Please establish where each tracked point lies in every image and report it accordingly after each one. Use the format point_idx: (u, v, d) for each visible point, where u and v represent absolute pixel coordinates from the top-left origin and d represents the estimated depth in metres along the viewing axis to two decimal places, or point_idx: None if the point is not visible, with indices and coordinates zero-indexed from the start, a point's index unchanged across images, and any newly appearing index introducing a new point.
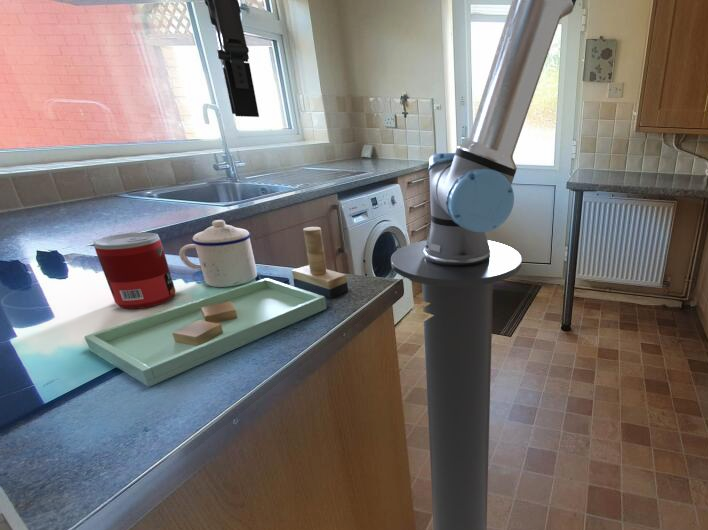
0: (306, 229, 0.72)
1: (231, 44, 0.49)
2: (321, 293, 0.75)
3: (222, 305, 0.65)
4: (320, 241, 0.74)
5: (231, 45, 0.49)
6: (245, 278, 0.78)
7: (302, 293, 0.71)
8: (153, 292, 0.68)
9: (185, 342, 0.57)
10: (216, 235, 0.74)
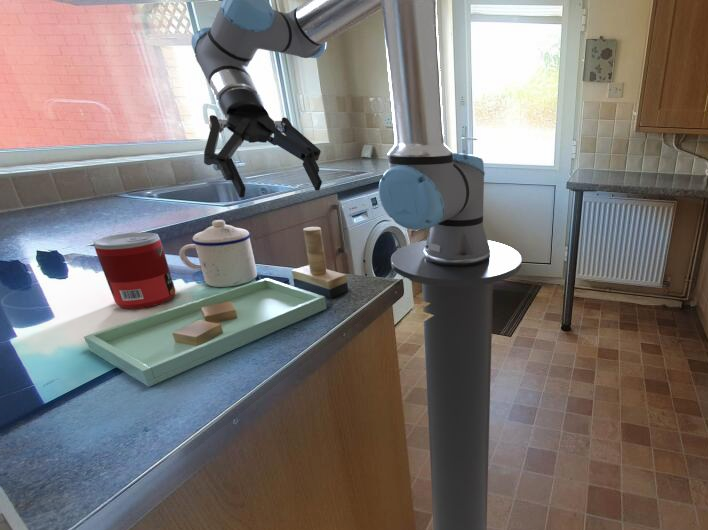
0: (306, 229, 0.72)
1: None
2: (321, 293, 0.75)
3: (222, 305, 0.65)
4: (320, 241, 0.74)
5: (204, 158, 0.72)
6: (245, 278, 0.78)
7: (302, 293, 0.71)
8: (153, 292, 0.68)
9: (185, 342, 0.57)
10: (216, 235, 0.74)
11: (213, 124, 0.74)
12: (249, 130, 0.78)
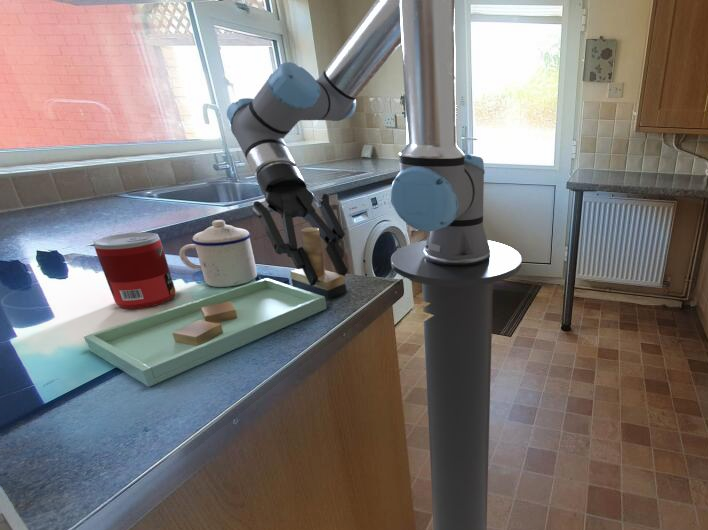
0: (304, 230, 0.72)
1: None
2: (319, 294, 0.74)
3: (222, 305, 0.65)
4: (318, 242, 0.73)
5: (276, 248, 0.72)
6: (245, 278, 0.78)
7: (302, 293, 0.71)
8: (153, 292, 0.68)
9: (185, 342, 0.57)
10: (216, 235, 0.74)
11: (262, 211, 0.72)
12: None
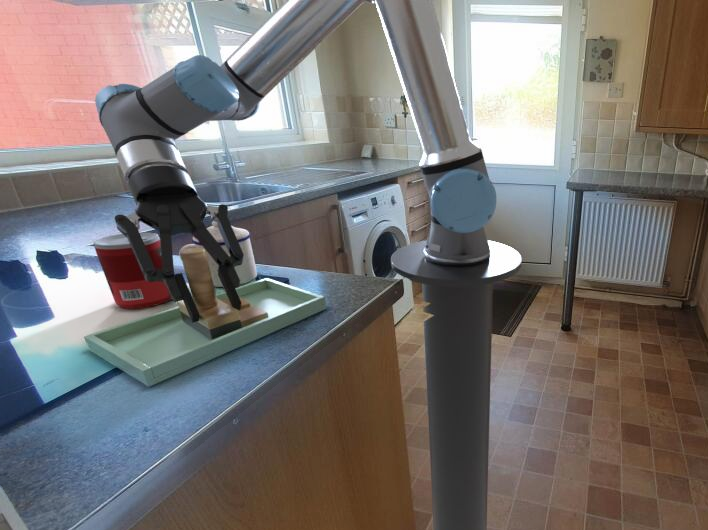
0: (183, 251, 0.56)
1: None
2: (204, 333, 0.58)
3: None
4: (203, 267, 0.57)
5: (145, 275, 0.56)
6: (245, 278, 0.78)
7: (302, 293, 0.71)
8: (153, 292, 0.68)
9: None
10: (216, 235, 0.74)
11: (127, 227, 0.56)
12: None
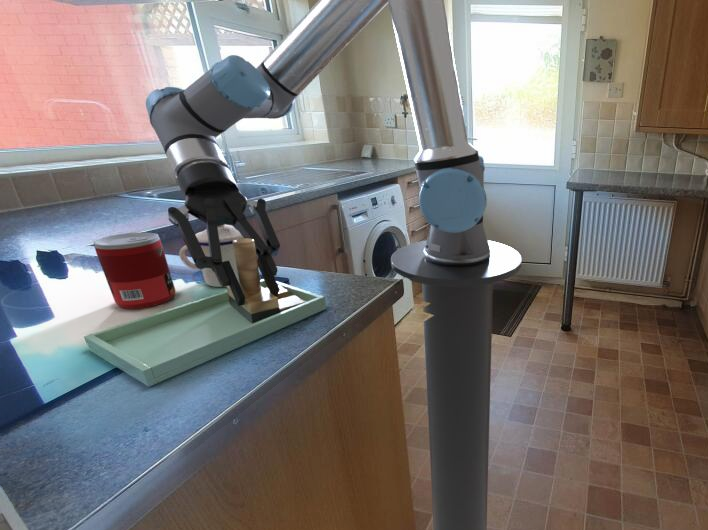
0: (235, 240, 0.62)
1: None
2: (246, 317, 0.63)
3: None
4: (251, 256, 0.62)
5: (196, 262, 0.61)
6: None
7: (302, 293, 0.71)
8: (153, 292, 0.68)
9: None
10: None
11: (179, 219, 0.61)
12: None
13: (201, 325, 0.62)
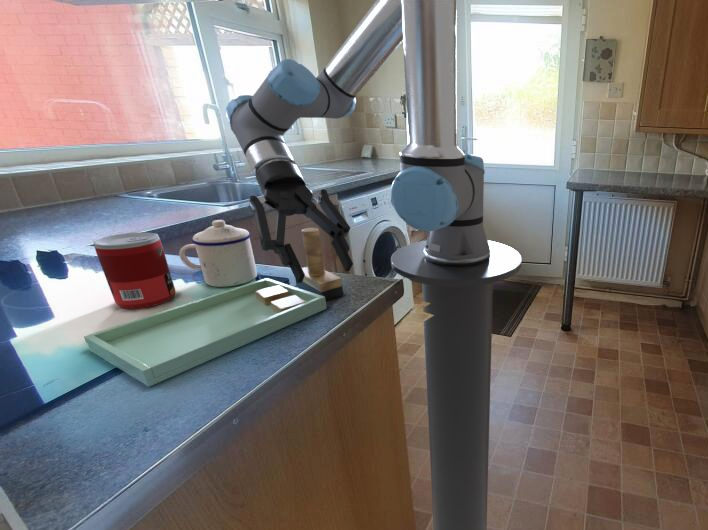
0: (304, 230, 0.72)
1: (262, 244, 0.70)
2: None
3: (274, 288, 0.71)
4: (317, 243, 0.73)
5: (262, 245, 0.70)
6: (245, 278, 0.78)
7: (302, 293, 0.71)
8: (153, 292, 0.68)
9: (276, 311, 0.66)
10: (216, 235, 0.74)
11: (257, 206, 0.71)
12: (287, 204, 0.75)
13: (201, 325, 0.62)
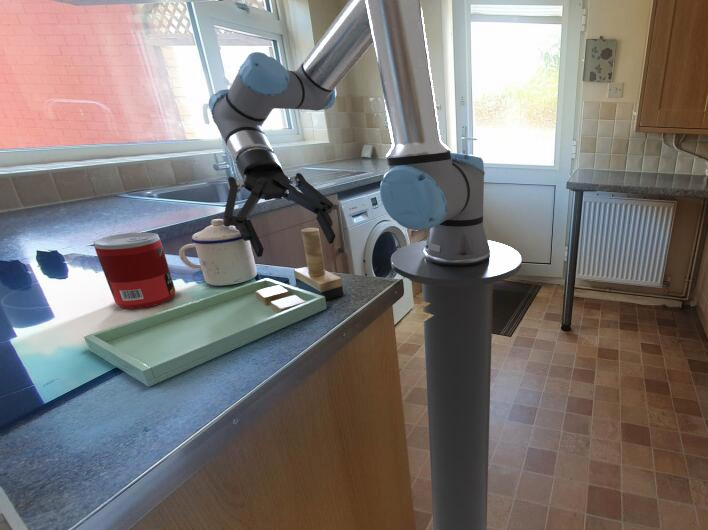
0: (304, 230, 0.72)
1: None
2: None
3: (274, 288, 0.71)
4: (317, 243, 0.73)
5: (223, 220, 0.75)
6: (244, 276, 0.78)
7: (302, 293, 0.71)
8: (153, 292, 0.68)
9: (276, 311, 0.66)
10: (215, 233, 0.74)
11: (231, 186, 0.77)
12: (265, 189, 0.80)
13: (201, 325, 0.62)
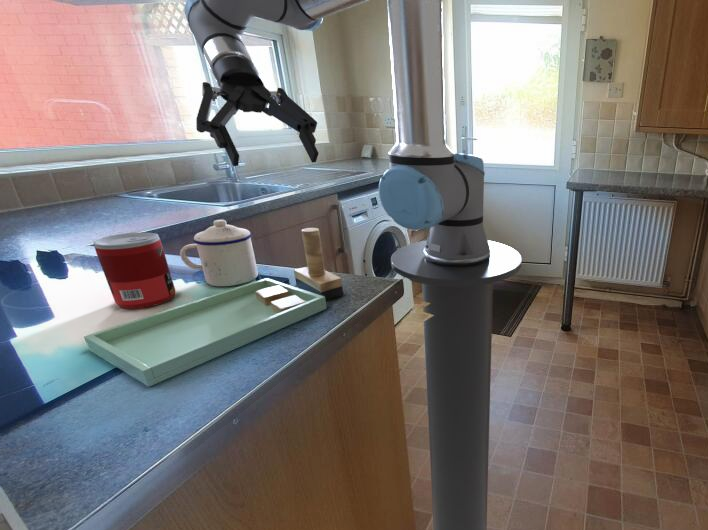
0: (304, 230, 0.72)
1: None
2: None
3: (274, 288, 0.71)
4: (317, 243, 0.73)
5: (196, 125, 0.70)
6: (246, 277, 0.78)
7: (302, 293, 0.71)
8: (153, 292, 0.68)
9: (276, 311, 0.66)
10: (218, 234, 0.74)
11: (206, 91, 0.72)
12: (243, 99, 0.76)
13: (201, 325, 0.62)
